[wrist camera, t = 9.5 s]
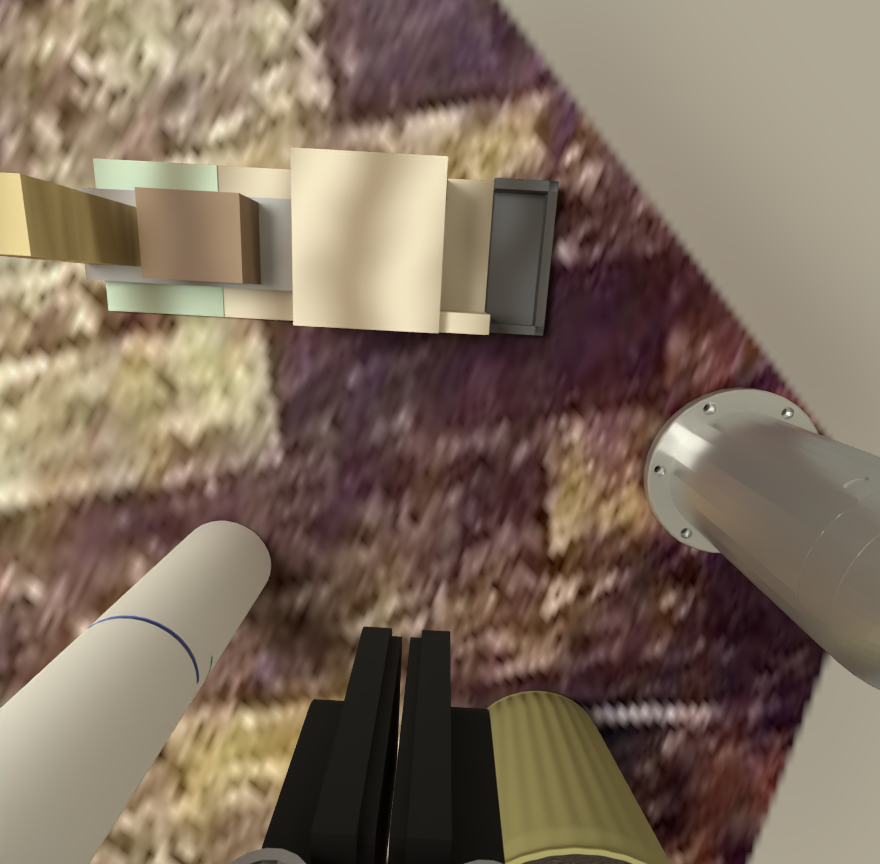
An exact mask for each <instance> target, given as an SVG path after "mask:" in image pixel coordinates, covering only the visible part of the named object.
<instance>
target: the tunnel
mask: <svg viewBox="0 0 880 864" xmlns="http://www.w3.org/2000/svg"><path fill="white" fill-rule="evenodd" d="M290 151H291V170H284V169H267V168H249V167H231V166H217V165H201V164H183V163H166V162H148V161H130V160H112V159H94V158H93V162H94V172H95V181H96V188H99V189H117V190H134V191H135V187H143V188H161V189H179V190H196V191H214V192H232V193H240V194H242V195H244V196H246V197H259V198H277V199H291V215H292V278H293V291H282V290H264V289H246V288H229V287H211V286H193V285H175V284H157V283H139V282H122V281H106V289H107V299H108V309H109V311H127V312H145V313H163V314H181V315H199V316H216V317H236V318H254V319H271V320H289V321H293V325H298V326H316V327H334V328H351V329H369V330H387V331H405V332H423V333H439V332H443V333H461V334H479V335H489V333H505V334H523V335H541V336H543V332H544V322H545V313H546V303H547V293H548V283H549V273H550V264H551V254H552V244H553V234H554V225H555V215H556V205H557V195H558V186H559V181H542V180H524V179H506V178H495V181H481V180H463V179H448V156H431V155H413V154H395V153H378V152H360V151H342V150H324V149H306V148H290Z"/></svg>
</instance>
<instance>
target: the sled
mask: <svg viewBox="0 0 880 864" xmlns="http://www.w3.org/2000/svg"><path fill="white" fill-rule="evenodd" d="M76 188H77V190H75V189H71V188H68V187H64V186H61V185H57V184H54V183H50V182H47V181H43V180H40V179H36V178H33V177H29V176H26V175H22V174H15V173H0V256H8V257H19V258H30V259H41V260H52V261H63V262H74V263H85V270H86V279H87V280H104V281H122V282H139V283H157V284H175V285H193V286H211V287H229V288H246V289H264V290H282V291H293V278H292V215H291V199H277V198H259V197H246V196H244V195H242V194H240V193H232V192H214V191H196V190H179V189H161V188H143V187H135V191H134V190H117V189H99V188H81V187H76Z"/></svg>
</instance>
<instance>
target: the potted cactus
mask: <svg viewBox="0 0 880 864" xmlns="http://www.w3.org/2000/svg"><path fill="white" fill-rule="evenodd" d="M487 709H489V712H490V719H491V729H492V739H493V749H494V759H495V768H496V778H497V788H498V798H499V808H500V818H501V828H502V837H503V847H504V857H505V864H671V863H670V861H669V860H668V858H667V856H666V854H665V852H664V851H663V849H662V847H661V845H660V843H659V841H658V840H657V838H656V836H655V834H654V832H653V830H652V829H651V827H650V825H649V823H648V821H647V819H646V818H645V816H644V814H643V812H642V810H641V808H640V806H639V805H638V803H637V801H636V799H635V797H634V795H633V794H632V792H631V790H630V788H629V786H628V784H627V783H626V781H625V779H624V777H623V775H622V773H621V771H620V770H619V768H618V766H617V764H616V762H615V760H614V759H613V757H612V755H611V753H610V751H609V749H608V748H607V746H606V744H605V742H604V740H603V738H602V736H601V735H600V733H599V731H598V729H597V727H596V726H595V725H594V723H593V721H592V719H591V717H590V716H589V715H588V714H587V712H586V711H585V710H584V709H583V708H582V707H581V706H579V705H578V704H577V703H575V702H574V701H572V700H571V699H569V698H566V697H564V696H562V695H559V694H556V693H551V692H546V691H525V692H519V693H515V694H512V695H509V696H506V697H504V698H502V699H500V700H498V701H496V702H495V703H493V704H492V705H491V706H489V707H488V708H487Z"/></svg>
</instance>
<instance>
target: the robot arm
mask: <svg viewBox="0 0 880 864" xmlns="http://www.w3.org/2000/svg"><path fill="white" fill-rule="evenodd" d="M706 404H707V407H706V409H704V410H703V408H704V406H705V405H706ZM657 466H658V469H656V470H654V469H655V467H657ZM644 489H645V494H646V499H647V502H648V504H649V506H650V509H651V511H652V513H653V514H654V516H655V517H656V519H657V520H658V521H659V523H660V524H661V525H662V526H663V527H664V528H665V529H666V530H667V531H668V532H669V533H670V534H671V535H672V536H673V537H675V538H676V539H677V540H678V541H680V542H682V543H684V544H686V545H688V546H690V547H692V548H695V549H698V550H702V551H706V552H710V553H721V554H723V555H724V556H725V557H726V558H727V559H728V560H729V561H730V562H731V563H732V564H733V565H734V566H735V567H736V568H737V569H739V570H740V571H741V572H742V573H743V574H744V575H745V576H746V577H747V578H748V579H749V580H750V581H751V582H752V583H753V584H755V585H756V586H757V587H758V588H759V589H760V590H761V591H762V592H763V593H764V594H765V595H766V596H767V597H768V598H769V599H771V600H772V601H773V602H774V603H775V604H776V605H777V606H778V607H779V608H780V609H781V610H782V611H783V612H784V613H785V614H786V615H788V616H789V617H790V618H791V619H792V620H793V621H794V622H795V623H796V624H797V625H798V626H799V627H800V628H801V629H802V630H804V631H805V632H806V633H807V634H808V635H809V636H810V637H811V638H812V639H813V640H814V641H815V642H816V643H817V644H818V645H820V646H821V647H822V648H823V649H824V650H825V651H827V652H828V653H829V654H830V655H831V656H832V657H833V658H834V659H835V660H836V661H838V663H840V664H841V665H842V666H843V667H845V668H846V669H847V670H848V671H850V672H851V673H852V674H853V675H855V676H857V677H858V678H859V679H861V680H863V681H864V682H866V683H867V684H869V685H871V686H873V687H875V688H877V689H879V690H880V457H878V456H875V455H873V454H869V453H867V452H865V451H862V450H859V449H857V448H854V447H851V446H849V445H846V444H843V443H841V442H838V441H835V440H832V439H830V438H827V437H824V436H822V435H819V434H818V432H817V429H816V428H815V426H814V425H813V423H812V421H811V420H810V418H809V417H808V416H807V415H806V414H805V413H804V412H803V411H802V410H801V409H800V408H799V407H798V406H797V405H795V404H794V403H792V402H791V401H789V400H788V399H786V398H784V397H782V396H779V395H776V394H773V393H771V392H767V391H763V390H759V389H755V388H740V387H737V388H729V389H721V390H718V391H714V392H711V393H708V394H705V395H703V396H701V397H699V398H697V399H695V400H693V401H691V402H689V403H688V404H686V405H685V406H684V407H682V408H681V409H680V410H678V411H677V412H676V413H674V414H673V415H672V416H671V418H670V419H669V420H668V421H667V422H666V423H665V424H664V425H663V426H662V428H661V429H660V431H659V432H658V434H657V435H656V437H655V438H654V440H653V442H652V445H651V447H650V449H649V452H648V454H647V458H646V463H645V467H644ZM401 654H402V637H396V636H392V628H378V627H363V629H362V633H361V637H360V641H359V645H358V649H357V653H356V656H355V660H354V664H353V668H352V672H351V676H350V680H349V684H348V688H347V692H346V696H345V699H344V701H335V700H317V699H314V700H313V701H312V702H311V704H310V707H309V709H308V712H307V715H306V718H305V721H304V724H303V727H302V730H301V733H300V736H299V739H298V742H297V745H296V748H295V751H294V754H293V757H292V760H291V763H290V766H289V769H288V772H287V775H286V778H285V781H284V784H283V787H282V789H281V792H280V795H279V798H278V801H277V804H276V807H275V810H274V813H273V816H272V819H271V822H270V825H269V828H268V831H267V834H266V837H265V840H264V843H263V846H262V849H260V850H256V851H252V852H248V853H246V854H244V855H242V856H241V857H239V858H237V859H235V860H233V861H232V862H230V863H229V864H386V857H387V848H388V839H389V830H390V839H389V857H388V864H505V857H504V847H503V837H502V828H501V818H500V808H499V798H498V788H497V778H496V768H495V759H494V749H493V739H492V729H491V719H490V712H489V709H478V708H460V707H451V681H450V631H432V630H422V638H414V637H411V639H410V648H409V658H408V667H407V676H406V685H405V695H404V704H403V713H402V722H401V732H400V741H399V750H398V726H399V702H400V678H401ZM397 750H398V759H397ZM396 764H397V768H396ZM395 775H396V778H395ZM394 784H395V787H394ZM393 793H394V796H393ZM392 802H393V805H392ZM391 812H392V815H391ZM390 821H391V826H390Z"/></svg>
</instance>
